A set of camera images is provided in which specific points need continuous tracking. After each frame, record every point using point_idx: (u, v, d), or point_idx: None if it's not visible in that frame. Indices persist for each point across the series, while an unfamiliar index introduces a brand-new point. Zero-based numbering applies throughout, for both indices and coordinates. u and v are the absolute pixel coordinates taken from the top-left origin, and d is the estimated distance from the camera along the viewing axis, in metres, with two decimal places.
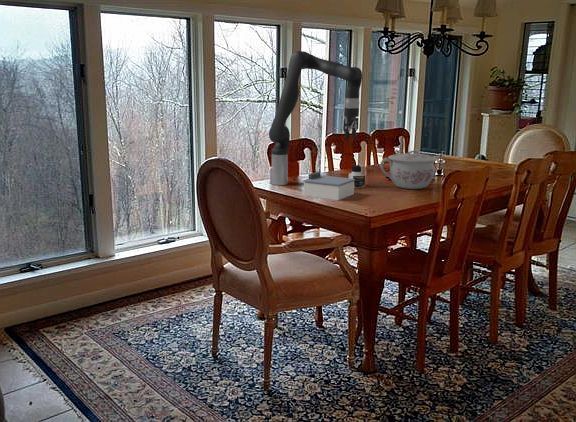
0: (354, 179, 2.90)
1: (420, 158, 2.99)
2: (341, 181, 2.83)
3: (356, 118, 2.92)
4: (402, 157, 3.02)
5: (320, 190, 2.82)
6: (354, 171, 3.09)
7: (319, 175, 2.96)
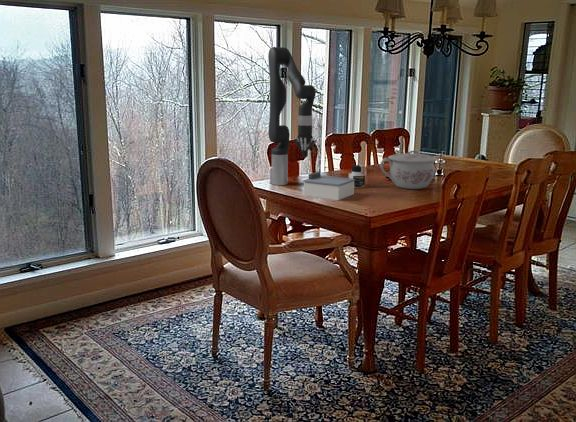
0: (354, 179, 2.90)
1: (420, 158, 2.99)
2: (341, 181, 2.83)
3: (296, 139, 2.95)
4: (402, 157, 3.02)
5: (320, 190, 2.82)
6: (354, 171, 3.09)
7: (319, 175, 2.96)
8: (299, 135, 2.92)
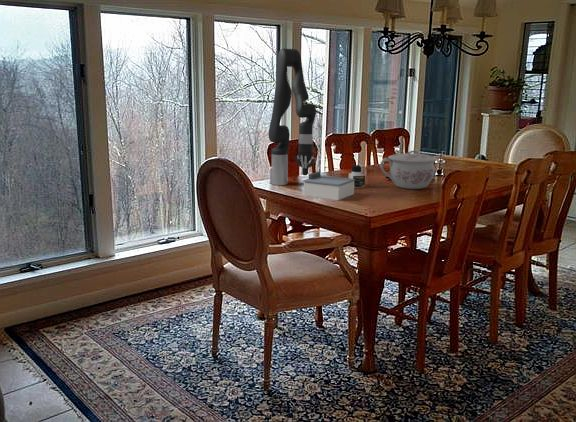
0: (354, 179, 2.90)
1: (420, 158, 2.99)
2: (341, 181, 2.83)
3: None
4: (402, 157, 3.02)
5: (320, 190, 2.82)
6: (354, 171, 3.09)
7: (319, 175, 2.96)
8: (299, 153, 2.94)
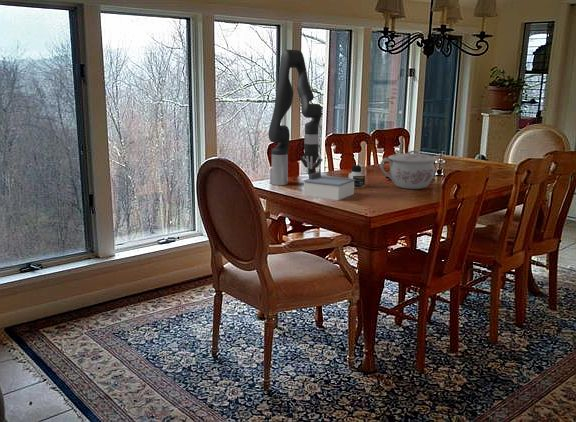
0: (354, 179, 2.90)
1: (420, 158, 2.99)
2: (341, 181, 2.83)
3: (302, 157, 2.95)
4: (402, 157, 3.02)
5: (320, 190, 2.82)
6: (354, 171, 3.09)
7: (319, 175, 2.95)
8: (305, 153, 2.92)
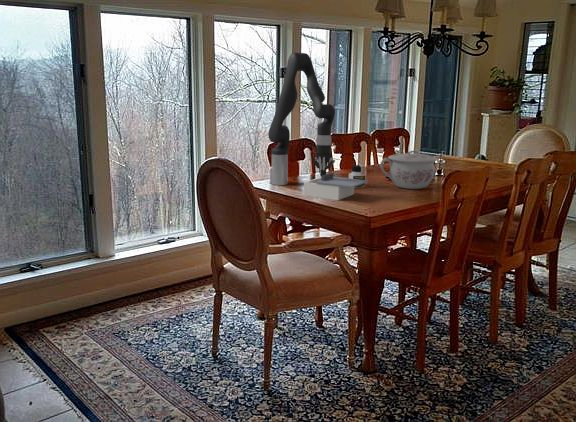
0: (367, 180, 2.86)
1: (420, 158, 2.99)
2: (354, 183, 2.80)
3: (314, 158, 2.91)
4: (402, 157, 3.02)
5: (320, 190, 2.82)
6: (354, 171, 3.09)
7: (332, 176, 2.92)
8: (318, 154, 2.88)
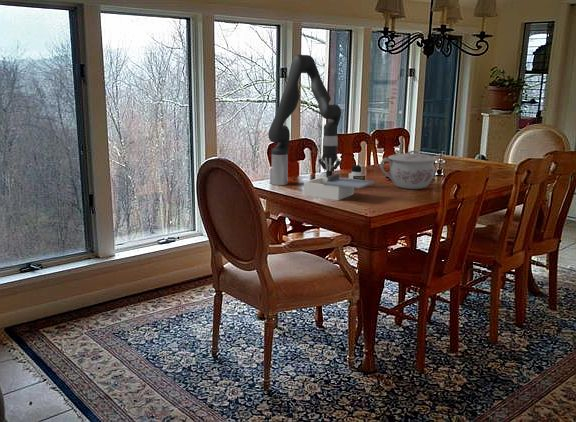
0: (374, 181, 2.84)
1: (420, 158, 2.99)
2: (361, 183, 2.78)
3: (320, 159, 2.89)
4: (402, 157, 3.02)
5: (320, 190, 2.82)
6: (354, 171, 3.09)
7: (338, 177, 2.90)
8: (324, 155, 2.86)
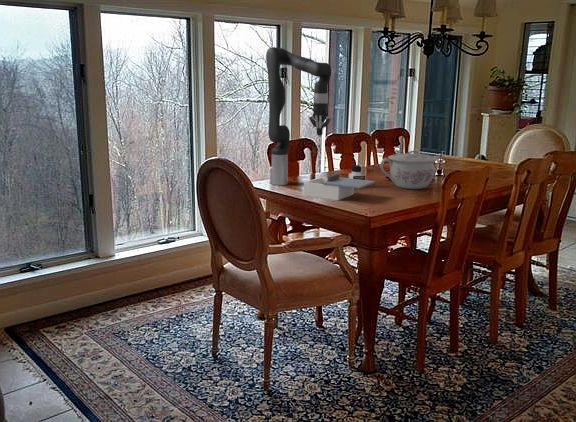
0: (374, 181, 2.84)
1: (420, 158, 2.99)
2: (361, 183, 2.78)
3: None
4: (402, 157, 3.02)
5: (320, 190, 2.82)
6: (354, 171, 3.09)
7: (338, 177, 2.90)
8: (314, 113, 2.92)
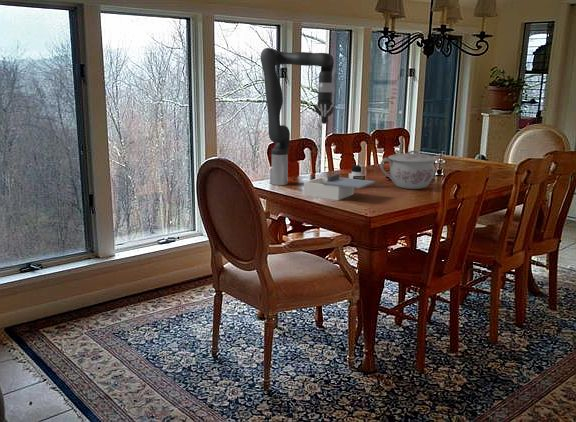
0: (374, 181, 2.84)
1: (420, 158, 2.99)
2: (361, 183, 2.78)
3: (316, 106, 3.06)
4: (402, 157, 3.02)
5: (320, 190, 2.82)
6: (354, 171, 3.09)
7: (338, 177, 2.90)
8: (319, 102, 3.03)
